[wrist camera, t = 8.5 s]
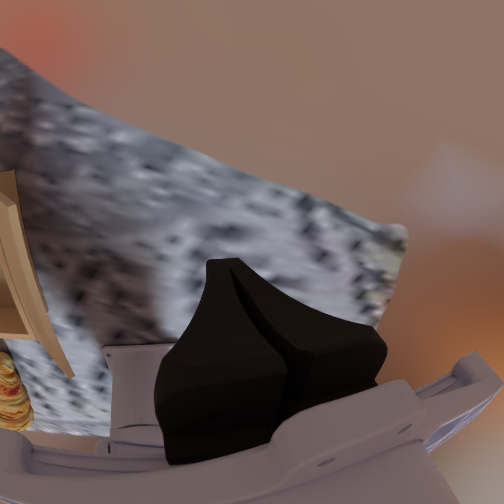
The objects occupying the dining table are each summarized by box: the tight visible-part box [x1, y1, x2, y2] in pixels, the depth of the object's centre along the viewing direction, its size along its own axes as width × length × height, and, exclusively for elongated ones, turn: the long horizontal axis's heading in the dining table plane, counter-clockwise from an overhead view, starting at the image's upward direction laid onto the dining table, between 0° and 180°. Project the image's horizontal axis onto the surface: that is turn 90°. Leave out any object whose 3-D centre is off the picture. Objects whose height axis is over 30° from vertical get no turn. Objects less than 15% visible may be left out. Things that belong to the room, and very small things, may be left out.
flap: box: [0, 191, 75, 379], centre depth 14 cm, size 12×6×1 cm
